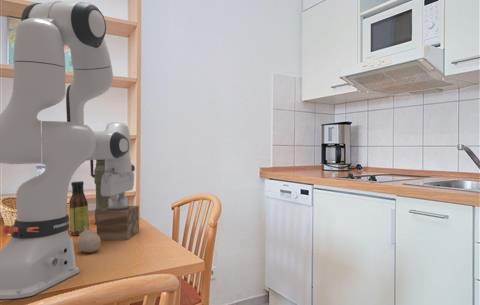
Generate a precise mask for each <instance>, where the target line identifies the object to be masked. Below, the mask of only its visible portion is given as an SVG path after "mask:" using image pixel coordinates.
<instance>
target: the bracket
mask: <svg viewBox="0 0 480 305" xmlns="http://www.w3.org/2000/svg"><path fill="white" fill-rule="evenodd" d="M128 199H129V198H128V197H127V196H125V197H119V196H118V201H119V206H117V207H113V202H112V199H111V198H109V210H126V209H128V206H129V205H128V203H129V202H128V201H129V200H128Z"/></svg>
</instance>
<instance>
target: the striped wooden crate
mask: <svg viewBox="0 0 480 305" xmlns="http://www.w3.org/2000/svg"><path fill="white" fill-rule="evenodd" d="M139 213H140V207H139V205H128V209H126V210H109V207H107V208H104V209H101V210H99V211H96V217H97V225H96V233H97V234H98V236H99V237H100V239H101V241H128V240H130V239H131V238H132V237H134V236H135V235H137V234H138V233H139V232H140V214H139Z"/></svg>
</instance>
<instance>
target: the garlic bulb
mask: <svg viewBox="0 0 480 305" xmlns="http://www.w3.org/2000/svg"><path fill="white" fill-rule="evenodd" d="M84 228H85V230H84V231H83V232H81V233H80V235H79V236H78V239H77V247H78V249H79V251H81V252H83V253H94V252H96V251H98V249H99V248H100V245H101V241H102V240H101V239H100V237H99V236H98V234H97V231H93V230H90V229H89V230H88V229H87V227H86V226H84Z"/></svg>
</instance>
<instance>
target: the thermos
mask: <svg viewBox="0 0 480 305" xmlns="http://www.w3.org/2000/svg"><path fill="white" fill-rule="evenodd" d="M89 162H90V163H89V164H90V176H91V177H92V178H93V179H94V184H95V210H94V220H95V223H94V224H95V225H96V226H97V217H96V211H99V210H101V209H104V208H107V207H109V198H111V196H102V195H101V179H102V176H103V175H104V173H105V159H104V160H95V162H96V163H95V167H94V160H89Z"/></svg>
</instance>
